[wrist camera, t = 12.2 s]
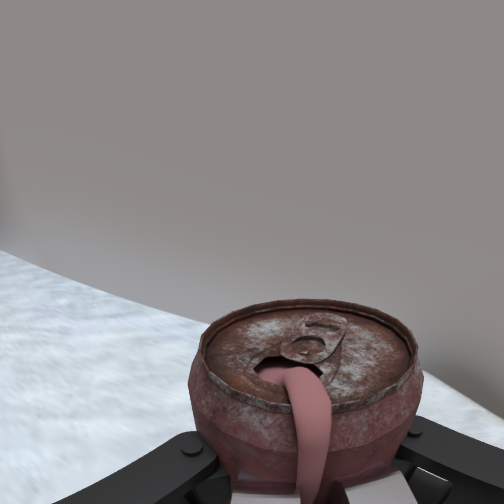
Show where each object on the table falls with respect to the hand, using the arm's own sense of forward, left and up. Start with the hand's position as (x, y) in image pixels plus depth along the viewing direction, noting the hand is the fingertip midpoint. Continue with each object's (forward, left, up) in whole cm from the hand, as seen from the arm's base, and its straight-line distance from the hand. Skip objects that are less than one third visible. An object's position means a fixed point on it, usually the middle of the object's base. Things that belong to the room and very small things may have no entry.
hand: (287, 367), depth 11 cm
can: (-3, -3, -11) cm, 12 cm away
